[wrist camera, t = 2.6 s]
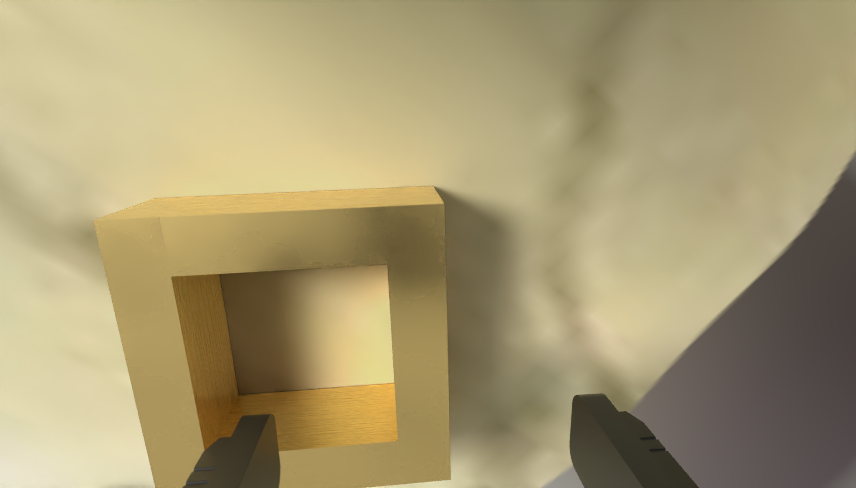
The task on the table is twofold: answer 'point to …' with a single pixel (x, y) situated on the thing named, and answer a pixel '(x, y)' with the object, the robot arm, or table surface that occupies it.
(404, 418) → the square wooden frame
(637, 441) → the robot arm
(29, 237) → the table surface
